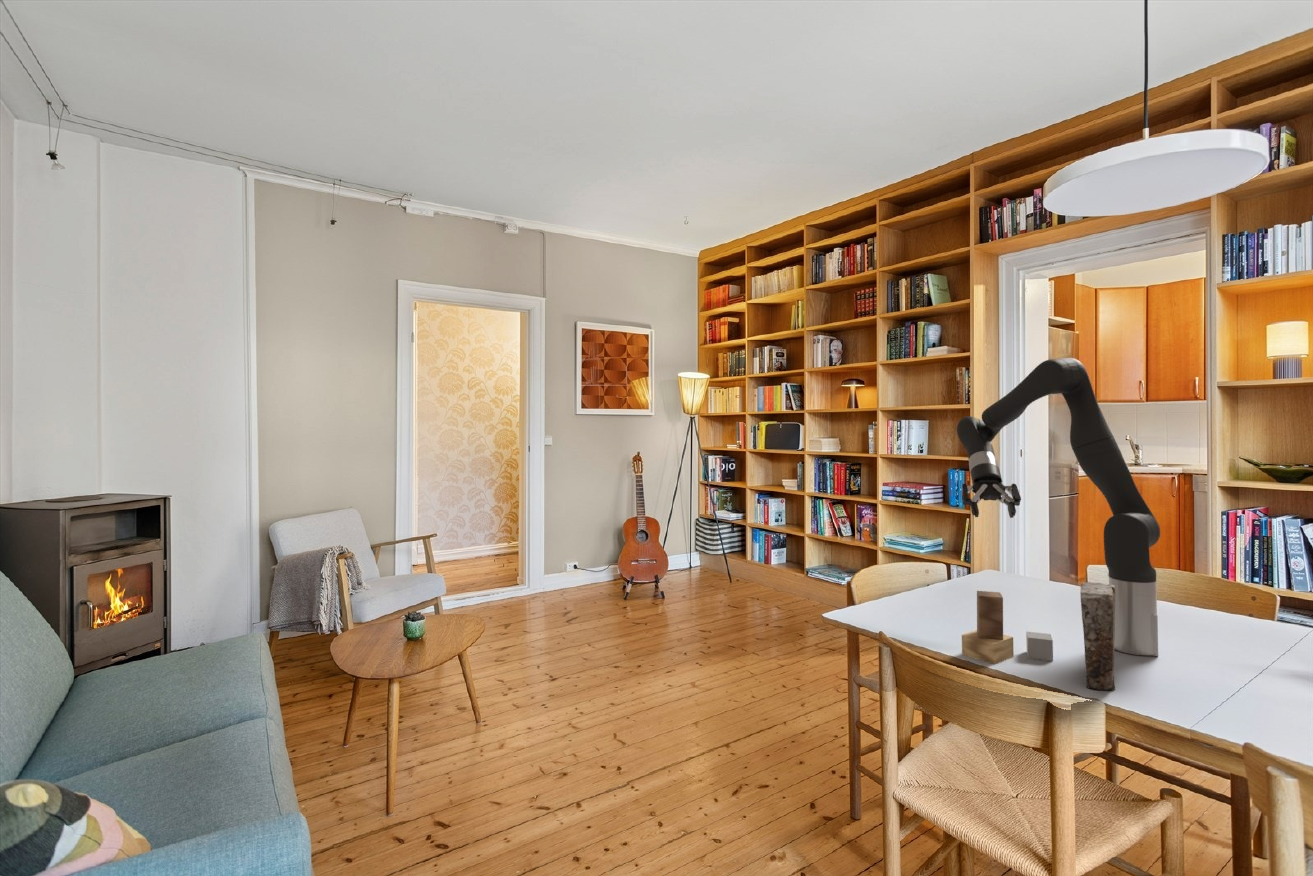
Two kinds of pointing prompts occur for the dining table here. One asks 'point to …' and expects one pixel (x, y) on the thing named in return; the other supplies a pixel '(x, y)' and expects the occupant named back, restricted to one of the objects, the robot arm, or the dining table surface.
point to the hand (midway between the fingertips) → (994, 515)
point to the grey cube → (1039, 646)
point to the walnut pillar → (990, 615)
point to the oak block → (987, 648)
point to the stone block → (1099, 633)
